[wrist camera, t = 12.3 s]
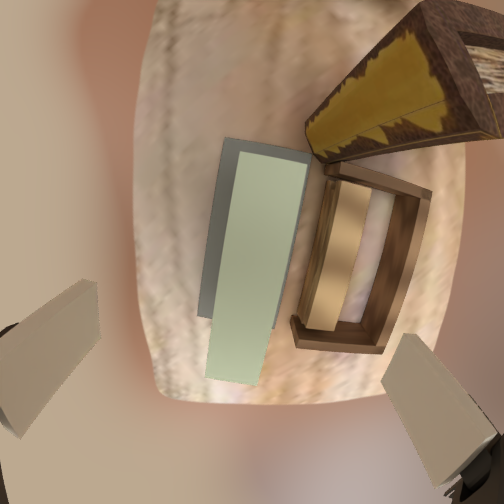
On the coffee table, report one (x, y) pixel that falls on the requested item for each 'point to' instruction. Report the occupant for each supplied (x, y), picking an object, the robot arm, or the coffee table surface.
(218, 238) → the mat
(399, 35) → the book
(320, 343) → the frame
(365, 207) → the brown wooden bar
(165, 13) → the coffee table surface
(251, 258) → the pale green slab
